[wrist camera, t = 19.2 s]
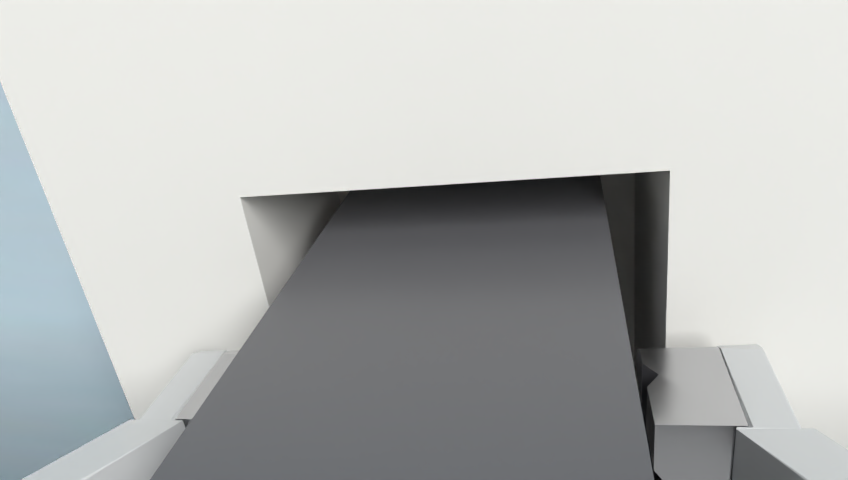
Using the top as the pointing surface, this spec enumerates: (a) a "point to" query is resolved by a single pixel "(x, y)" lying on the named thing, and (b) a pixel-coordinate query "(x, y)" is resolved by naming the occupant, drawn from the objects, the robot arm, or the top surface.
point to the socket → (445, 155)
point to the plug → (436, 348)
